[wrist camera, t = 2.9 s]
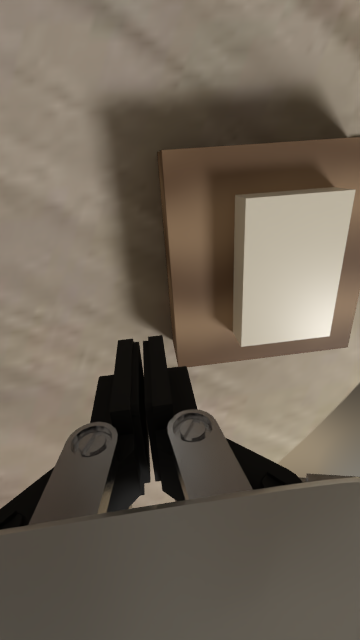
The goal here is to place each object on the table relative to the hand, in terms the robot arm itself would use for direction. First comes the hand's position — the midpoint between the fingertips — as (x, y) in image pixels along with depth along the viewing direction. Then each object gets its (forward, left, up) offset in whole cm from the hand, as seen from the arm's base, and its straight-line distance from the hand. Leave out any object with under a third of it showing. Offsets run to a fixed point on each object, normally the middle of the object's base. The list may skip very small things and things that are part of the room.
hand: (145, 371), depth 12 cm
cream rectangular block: (-1, +9, -9) cm, 13 cm away
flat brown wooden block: (-1, +8, -13) cm, 15 cm away
